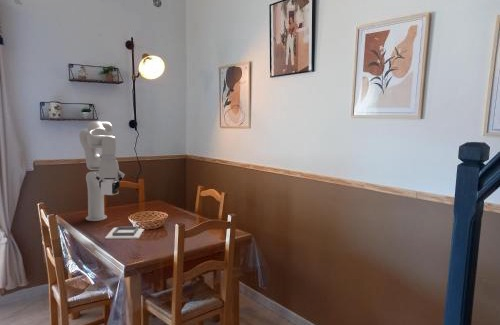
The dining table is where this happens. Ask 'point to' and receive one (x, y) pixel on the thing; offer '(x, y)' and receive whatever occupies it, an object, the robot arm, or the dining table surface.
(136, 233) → the holder board
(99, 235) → the dining table surface
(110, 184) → the medicine bottle
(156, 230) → the dining table surface
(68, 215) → the dining table surface
